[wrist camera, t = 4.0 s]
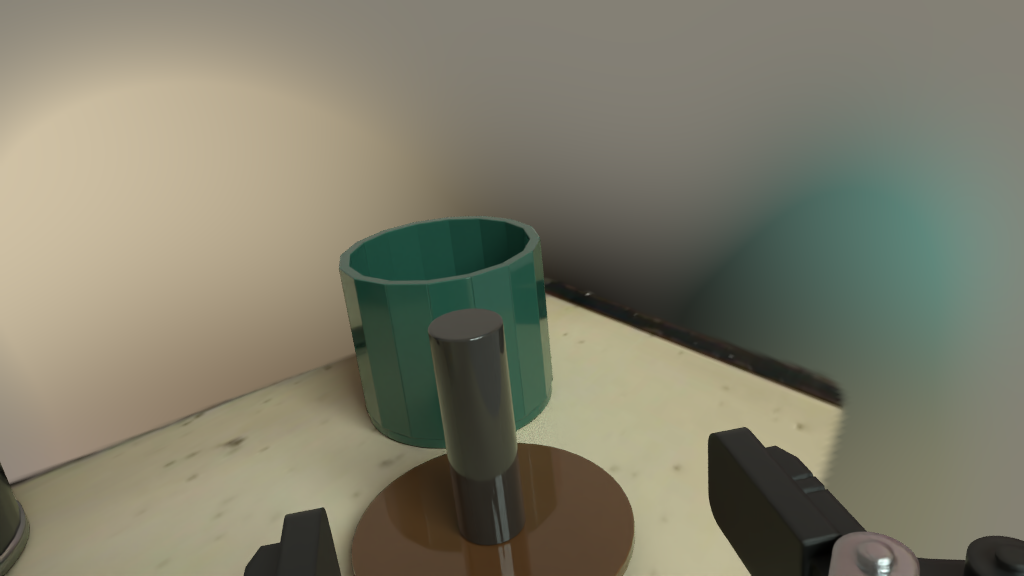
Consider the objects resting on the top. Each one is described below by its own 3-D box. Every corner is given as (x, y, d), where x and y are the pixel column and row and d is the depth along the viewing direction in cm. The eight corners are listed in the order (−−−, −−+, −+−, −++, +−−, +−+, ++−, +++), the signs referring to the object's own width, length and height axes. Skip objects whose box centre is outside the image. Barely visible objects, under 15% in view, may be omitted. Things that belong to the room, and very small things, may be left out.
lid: (296, 586, 28) (236, 360, 25) (471, 439, 36) (444, 253, 33) (535, 717, 22) (501, 445, 19) (681, 507, 30) (677, 288, 27)
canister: (330, 418, 40) (297, 267, 36) (448, 341, 47) (429, 209, 44) (478, 470, 34) (453, 297, 31) (585, 373, 41) (575, 225, 38)
